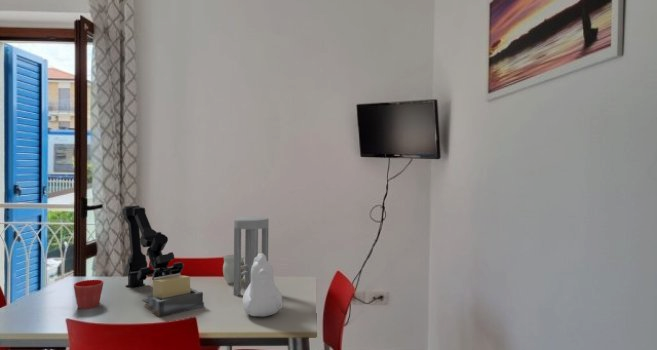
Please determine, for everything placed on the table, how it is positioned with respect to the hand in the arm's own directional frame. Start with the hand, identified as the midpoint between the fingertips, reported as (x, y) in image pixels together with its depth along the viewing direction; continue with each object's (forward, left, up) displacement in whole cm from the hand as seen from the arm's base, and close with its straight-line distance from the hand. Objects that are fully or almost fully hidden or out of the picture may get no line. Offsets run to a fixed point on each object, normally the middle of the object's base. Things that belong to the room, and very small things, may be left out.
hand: (166, 287), depth 178 cm
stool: (+26, +26, -7) cm, 37 cm away
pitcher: (+8, +40, -7) cm, 41 cm away
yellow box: (+5, -2, -4) cm, 7 cm away
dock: (0, 0, -8) cm, 8 cm away
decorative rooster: (+43, +7, -7) cm, 44 cm away
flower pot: (-27, -15, -7) cm, 32 cm away
